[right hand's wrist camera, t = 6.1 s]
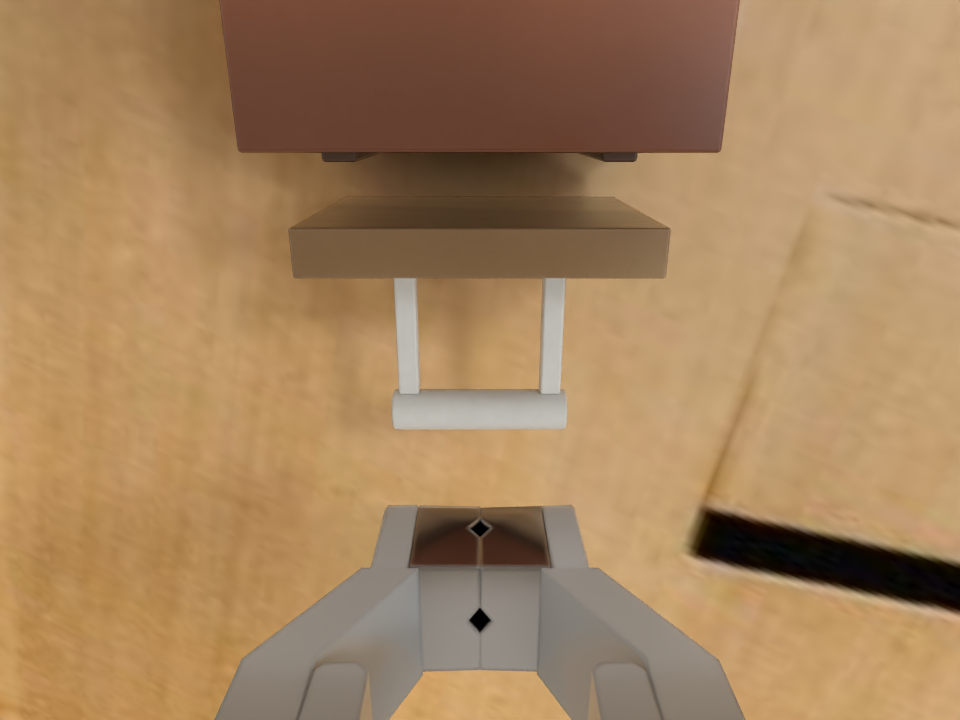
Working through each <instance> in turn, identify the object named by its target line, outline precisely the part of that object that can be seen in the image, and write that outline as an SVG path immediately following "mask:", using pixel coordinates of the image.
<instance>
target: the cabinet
mask: <svg viewBox="0 0 960 720" xmlns="http://www.w3.org/2000/svg"><path fill="white" fill-rule="evenodd" d="M219 1H220V9H221V17H222V26H223V34H224V42H225V50H226V58H227V66H228V74H229V82H230V90H231V98H232V106H233V114H234V122H235V130H236V138H237V146H238V150H239V152H242V153H718V152H720V150H721V147H722V139H723V131H724V123H725V115H726V107H727V99H728V91H729V83H730V75H731V67H732V59H733V51H734V43H735V35H736V27H737V19H738V10H739V2H740V0H219Z"/></svg>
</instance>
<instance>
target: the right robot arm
mask: <svg viewBox="0 0 960 720" xmlns="http://www.w3.org/2000/svg"><path fill="white" fill-rule="evenodd" d="M456 670H503V671H537V675H538V676H539V677H540V679H541V680H542V681H543V683H544V684H545V685H546V687H547V688H548V689H549V690H550V692H551V693H552V694H553V696H554V697H555V698H556V700H557V701H558V702H559V704H560V705H561V706H562V708H563V709H564V710H565V712H566V713H567V714H568V716H569V717H570V718H571V720H745V717H744V715H743V713H742V711H741V708H740V706H739V704H738V702H737V699H736V697H735V695H734V693H733V691H732V688H731V686H730V684H729V682H728V679H727V677H726V675H725V673H724V670H723V668H722V666H721V664H720V661H719V660H718V659H717V658H716V657H714V656H713V655H712V654H710V653H709V652H708V651H707V650H705V649H704V648H703V647H701V646H700V645H699V644H697V643H696V642H695V641H693V640H692V639H691V638H690V637H688V636H687V635H686V634H684V633H683V632H682V631H680V630H679V629H678V628H676V627H675V626H674V625H672V624H671V623H670V622H669V621H667V620H666V619H665V618H663V617H662V616H661V615H659V614H658V613H657V612H655V611H654V610H653V609H652V608H650V607H649V606H648V605H646V604H645V603H644V602H642V601H641V600H640V599H638V598H637V597H636V596H635V595H633V594H632V593H631V592H629V591H628V590H627V589H625V588H624V587H623V586H621V585H620V584H619V583H618V582H616V581H615V580H614V579H612V578H611V577H610V576H608V575H607V574H606V573H604V572H603V571H602V570H601V569H599V568H589V564H588V560H587V556H586V552H585V548H584V544H583V540H582V536H581V532H580V528H579V524H578V520H577V516H576V512H575V508H574V507H573V506H572V505H554V506H530V507H491V508H480V507H469V506H419V507H418V506H417V505H389V506H388V507H387V508H386V509H385V512H384V516H383V520H382V524H381V528H380V532H379V536H378V540H377V544H376V548H375V552H374V556H373V560H372V564H371V568H361V569H359V570H358V571H357V572H356V573H354V574H353V575H352V576H350V577H349V578H348V579H346V580H345V581H344V582H342V583H341V584H340V585H338V586H337V587H336V588H335V589H333V590H332V591H331V592H329V593H328V594H327V595H325V596H324V597H323V598H321V599H320V600H319V601H317V602H316V603H315V604H313V605H312V606H311V607H310V608H308V609H307V610H306V611H304V612H303V613H302V614H300V615H299V616H298V617H296V618H295V619H294V620H292V621H291V622H290V623H288V624H287V625H286V626H285V627H283V628H282V629H281V630H279V631H278V632H277V633H275V634H274V635H273V636H271V637H270V638H269V639H267V640H266V641H265V642H264V643H262V644H261V645H260V646H258V647H257V648H256V649H254V650H253V651H252V652H250V653H249V654H248V655H246V656H245V657H244V658H242V660H241V662H240V664H239V666H238V669H237V671H236V673H235V675H234V678H233V680H232V682H231V684H230V686H229V689H228V691H227V693H226V695H225V697H224V700H223V702H222V704H221V706H220V708H219V711H218V713H217V715H216V717H215V720H389V719H390V717H391V716H392V715H393V713H394V712H395V711H396V710H397V708H398V707H399V706H400V704H401V703H402V702H403V700H404V699H405V698H406V696H407V695H408V694H409V692H410V691H411V690H412V688H413V687H414V686H415V684H416V683H417V682H418V681H419V679H420V678H421V677H422V675H423V671H456Z"/></svg>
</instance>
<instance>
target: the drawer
mask: <svg viewBox="0 0 960 720" xmlns="http://www.w3.org/2000/svg"><path fill="white" fill-rule="evenodd" d="M377 154H380V153H322V160H323V161H325V162H355V161H358V160H361V159H364V158H368V157H371V156H374V155H377ZM579 154H582V155H586V156H589V157H592V158H595V159H598V160H601V161H604V162H634V161H636V159H637V153H579ZM670 232H671V230H670V228H668V227H666V226H665V225H663V224H661V223H659V222H657V221H656V220H654V219H652V218H650V217H648V216H647V215H645V214H643V213H641V212H640V211H638V210H636V209H634V208H632V207H631V206H629V205H627V204H625V203H623V202H622V201H620V200H618V199H616V198H614V197H345V198H343V199H341V200H339V201H337V202H336V203H334V204H332V205H330V206H328V207H327V208H325V209H323V210H321V211H320V212H318V213H316V214H314V215H312V216H311V217H309V218H307V219H305V220H303V221H302V222H300V223H298V224H296V225H295V226H293V227H291V228H289V240H290V250H291V260H292V269H293V276H294V278H394V298H395V319H396V340H397V362H398V383H399V389H396V390H395V391H394V393H393V398H392V423H393V427H394V429H565V427H566V424H567V397H566V393H565V390H563V389H560V386H561V365H562V344H563V323H564V302H565V281H566V278H665V277H666V271H667V261H668V251H669V241H670ZM417 278H542V307H541V336H540V365H539V389H420V360H419V331H418V302H417Z"/></svg>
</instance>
